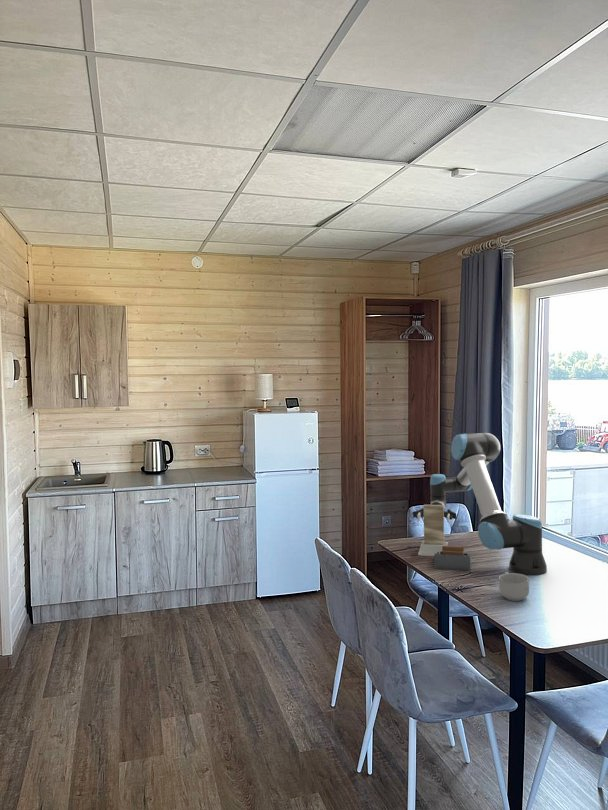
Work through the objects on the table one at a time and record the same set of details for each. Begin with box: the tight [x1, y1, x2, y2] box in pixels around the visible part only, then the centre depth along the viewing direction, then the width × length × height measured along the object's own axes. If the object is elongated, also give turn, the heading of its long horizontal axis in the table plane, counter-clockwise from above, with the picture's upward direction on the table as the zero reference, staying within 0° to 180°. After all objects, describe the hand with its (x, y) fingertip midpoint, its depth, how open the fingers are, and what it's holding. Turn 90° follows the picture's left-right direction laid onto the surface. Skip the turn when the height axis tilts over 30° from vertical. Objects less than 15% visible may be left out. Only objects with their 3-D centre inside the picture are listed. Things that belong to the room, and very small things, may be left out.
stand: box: [417, 540, 449, 557], centre depth 283 cm, size 10×14×6 cm
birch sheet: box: [422, 503, 445, 545], centre depth 282 cm, size 2×9×22 cm, turn 73°
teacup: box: [498, 571, 530, 602], centre depth 229 cm, size 14×11×8 cm
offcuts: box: [442, 545, 465, 555], centre depth 262 cm, size 6×9×8 cm
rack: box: [433, 551, 472, 572], centre depth 265 cm, size 15×15×8 cm
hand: (433, 519), depth 279 cm, fingers open, 13 cm apart
